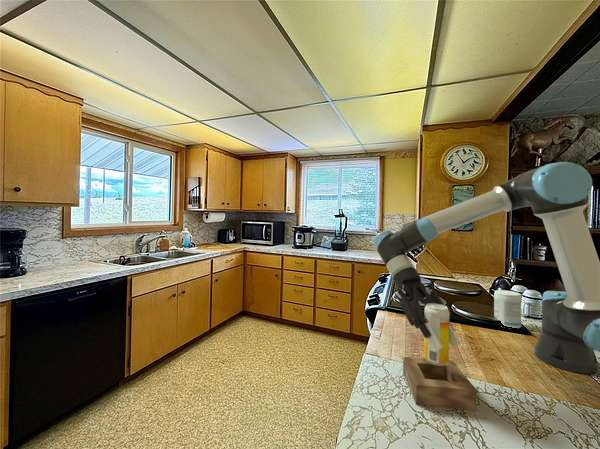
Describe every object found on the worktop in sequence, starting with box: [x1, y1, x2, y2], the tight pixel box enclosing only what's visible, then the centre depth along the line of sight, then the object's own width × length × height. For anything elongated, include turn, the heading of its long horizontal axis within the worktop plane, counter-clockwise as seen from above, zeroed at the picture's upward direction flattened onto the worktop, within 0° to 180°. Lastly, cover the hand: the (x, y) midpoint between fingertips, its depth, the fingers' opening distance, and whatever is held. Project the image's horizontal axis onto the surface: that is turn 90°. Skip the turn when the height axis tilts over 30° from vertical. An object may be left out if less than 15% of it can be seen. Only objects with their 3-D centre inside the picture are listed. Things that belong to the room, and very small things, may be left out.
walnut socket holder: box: [402, 356, 478, 412], centre depth 73 cm, size 14×14×5 cm
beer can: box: [423, 303, 451, 366], centre depth 73 cm, size 6×6×15 cm
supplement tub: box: [493, 289, 522, 329], centre depth 120 cm, size 10×10×15 cm
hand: (447, 347), depth 70 cm, fingers closed on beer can, 6 cm apart
